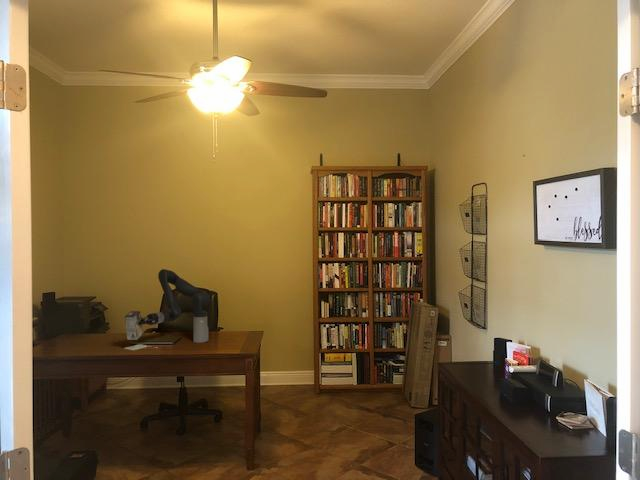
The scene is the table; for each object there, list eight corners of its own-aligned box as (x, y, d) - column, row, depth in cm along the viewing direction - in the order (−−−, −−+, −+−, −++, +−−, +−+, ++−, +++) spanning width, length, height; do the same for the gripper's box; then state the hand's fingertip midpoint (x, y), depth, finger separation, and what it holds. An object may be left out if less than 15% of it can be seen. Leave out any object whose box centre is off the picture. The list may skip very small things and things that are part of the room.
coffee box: (132, 333, 302) (130, 310, 299) (142, 333, 302) (140, 310, 298) (126, 339, 293) (124, 316, 290) (136, 340, 293) (134, 316, 290)
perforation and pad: (141, 344, 307) (141, 343, 307) (157, 347, 299) (157, 346, 299) (124, 348, 295) (124, 347, 295) (141, 352, 288) (141, 351, 288)
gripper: (148, 311, 315) (127, 315, 301) (162, 313, 308) (142, 318, 294) (148, 322, 316) (127, 327, 301) (162, 325, 308) (142, 329, 294)
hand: (134, 322), depth 298 cm, fingers closed on coffee box, 7 cm apart
